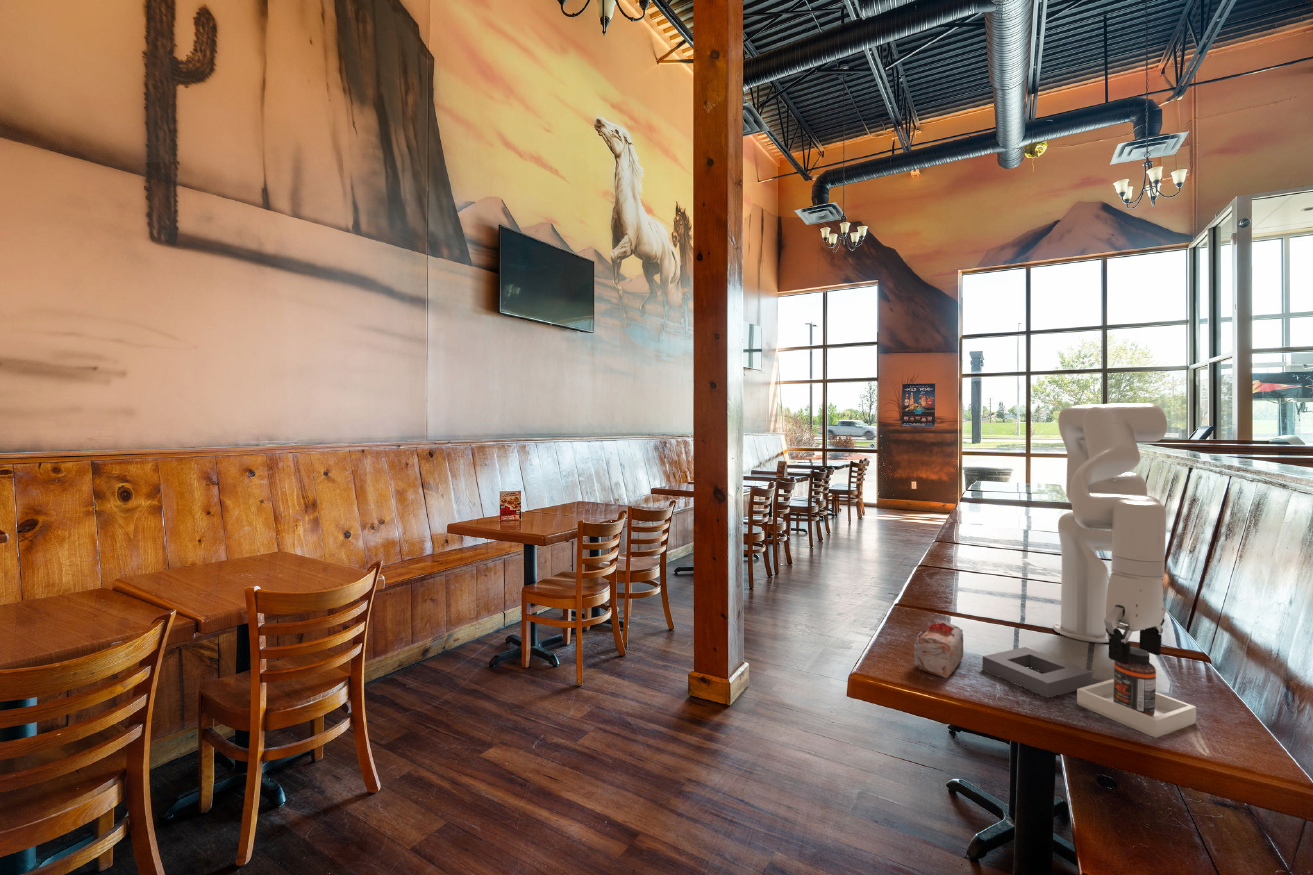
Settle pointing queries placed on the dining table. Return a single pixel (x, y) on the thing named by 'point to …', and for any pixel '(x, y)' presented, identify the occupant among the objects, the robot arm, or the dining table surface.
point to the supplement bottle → (1136, 682)
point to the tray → (1163, 721)
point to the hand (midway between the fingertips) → (1134, 656)
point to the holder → (1049, 684)
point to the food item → (939, 649)
